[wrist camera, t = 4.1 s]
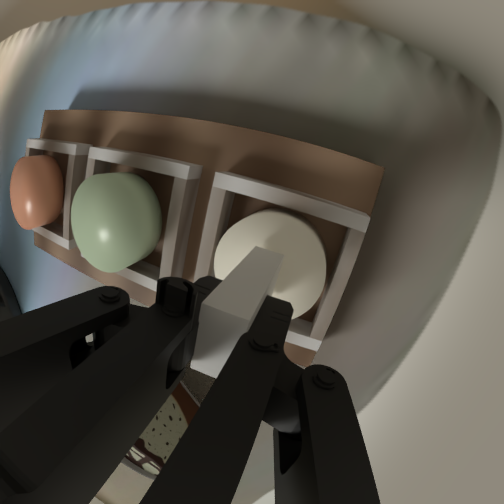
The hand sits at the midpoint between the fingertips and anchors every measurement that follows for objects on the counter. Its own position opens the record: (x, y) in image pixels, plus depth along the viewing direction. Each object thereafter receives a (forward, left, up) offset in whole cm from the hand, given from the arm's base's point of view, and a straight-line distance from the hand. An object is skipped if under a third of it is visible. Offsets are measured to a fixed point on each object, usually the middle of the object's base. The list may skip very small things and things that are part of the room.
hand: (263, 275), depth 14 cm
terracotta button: (-20, 0, -1) cm, 20 cm away
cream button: (0, 0, -3) cm, 3 cm away
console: (-10, 0, -6) cm, 11 cm away
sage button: (-10, 0, -1) cm, 10 cm away
